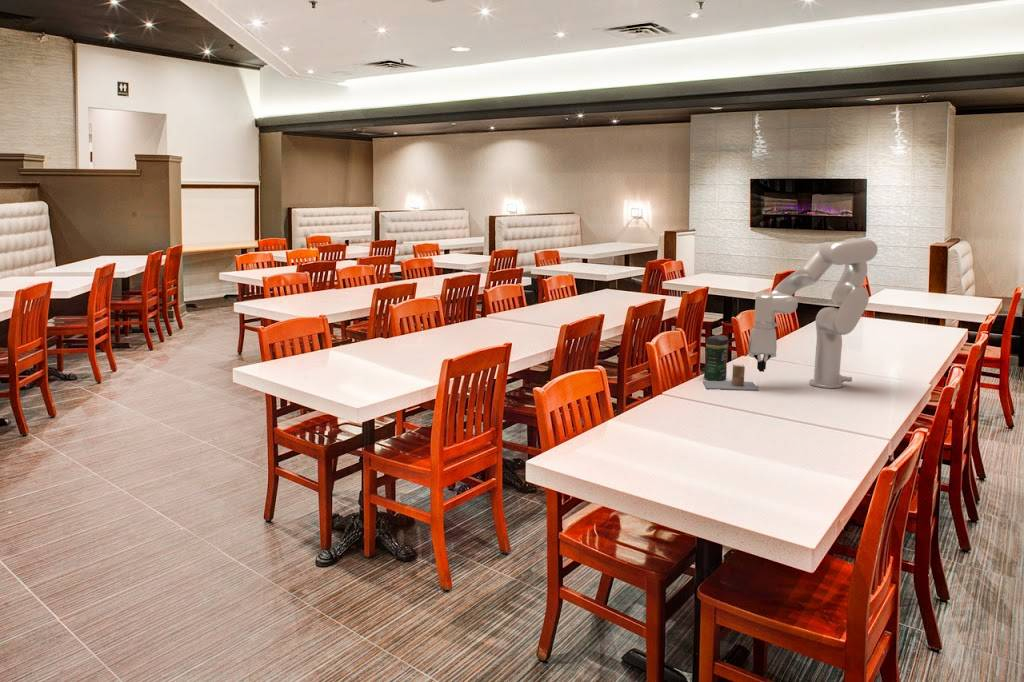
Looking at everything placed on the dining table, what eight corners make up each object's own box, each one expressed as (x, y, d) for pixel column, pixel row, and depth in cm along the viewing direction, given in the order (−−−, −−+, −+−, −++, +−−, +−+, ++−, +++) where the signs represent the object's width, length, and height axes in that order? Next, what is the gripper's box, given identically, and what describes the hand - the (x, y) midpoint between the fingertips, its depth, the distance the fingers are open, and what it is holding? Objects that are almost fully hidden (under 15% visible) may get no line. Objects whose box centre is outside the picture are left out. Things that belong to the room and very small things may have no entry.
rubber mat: (752, 383, 309) (752, 381, 309) (758, 390, 296) (758, 389, 296) (702, 381, 312) (702, 380, 311) (706, 389, 299) (706, 387, 299)
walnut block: (742, 384, 305) (743, 364, 304) (743, 386, 301) (744, 366, 300) (732, 383, 306) (733, 364, 304) (733, 386, 302) (734, 366, 300)
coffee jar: (718, 382, 311) (720, 338, 308) (701, 379, 316) (703, 335, 313) (729, 378, 318) (731, 335, 315) (712, 375, 323) (714, 332, 320)
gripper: (781, 324, 301) (778, 369, 304) (742, 323, 303) (740, 368, 306) (785, 327, 293) (782, 373, 297) (746, 326, 295) (743, 372, 299)
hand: (761, 370), depth 301 cm, fingers closed
